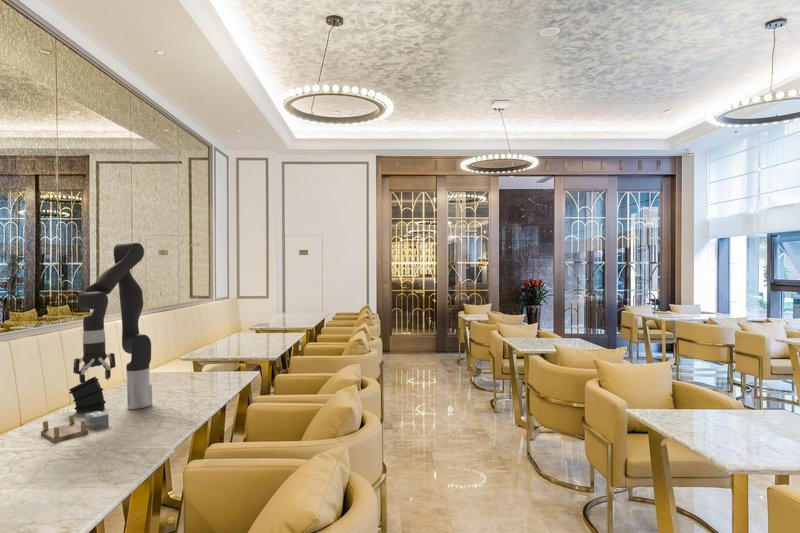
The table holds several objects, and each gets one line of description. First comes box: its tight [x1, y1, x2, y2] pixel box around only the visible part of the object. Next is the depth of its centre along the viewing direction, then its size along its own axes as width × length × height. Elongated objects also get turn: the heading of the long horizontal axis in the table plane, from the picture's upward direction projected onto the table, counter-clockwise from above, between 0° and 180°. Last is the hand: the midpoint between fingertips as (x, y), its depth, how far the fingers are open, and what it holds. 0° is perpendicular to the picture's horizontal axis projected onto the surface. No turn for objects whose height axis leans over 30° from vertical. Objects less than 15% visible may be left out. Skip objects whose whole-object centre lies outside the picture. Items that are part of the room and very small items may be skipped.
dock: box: [40, 414, 89, 443], centre depth 180 cm, size 11×15×5 cm
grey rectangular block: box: [84, 411, 110, 431], centre depth 188 cm, size 5×9×5 cm, turn 54°
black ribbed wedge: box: [68, 376, 106, 413], centre depth 211 cm, size 4×13×15 cm, turn 98°
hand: (95, 381), depth 189 cm, fingers open, 8 cm apart
